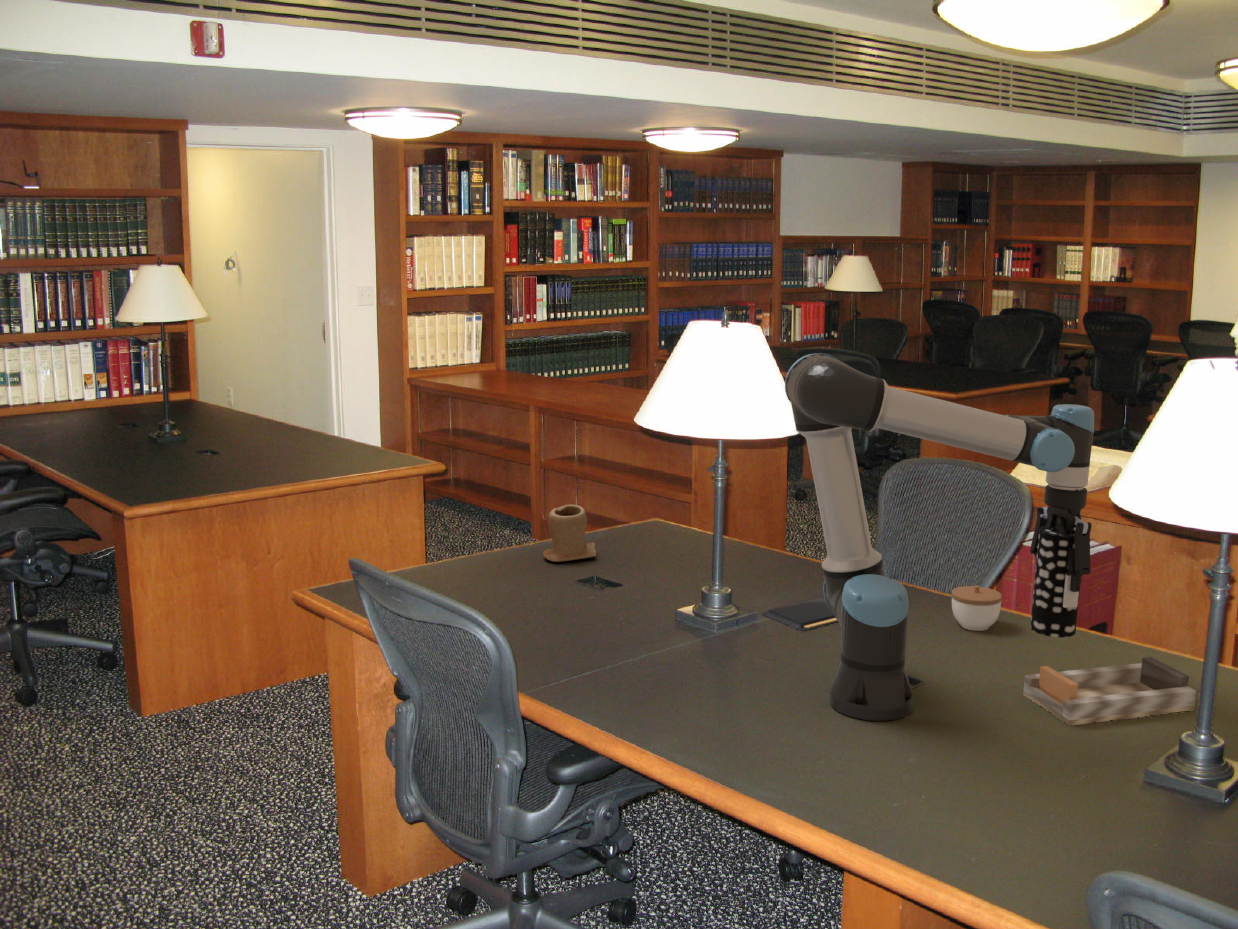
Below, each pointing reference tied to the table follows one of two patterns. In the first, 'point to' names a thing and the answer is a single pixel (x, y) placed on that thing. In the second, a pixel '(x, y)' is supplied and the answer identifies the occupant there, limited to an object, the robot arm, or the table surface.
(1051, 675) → the block
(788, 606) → the dark navy book
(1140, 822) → the table surface
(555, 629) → the table surface
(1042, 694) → the marbled beige tray
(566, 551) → the stone cup
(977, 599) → the lidded jar
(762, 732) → the table surface
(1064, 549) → the white-spotted black cylinder
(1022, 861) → the table surface
